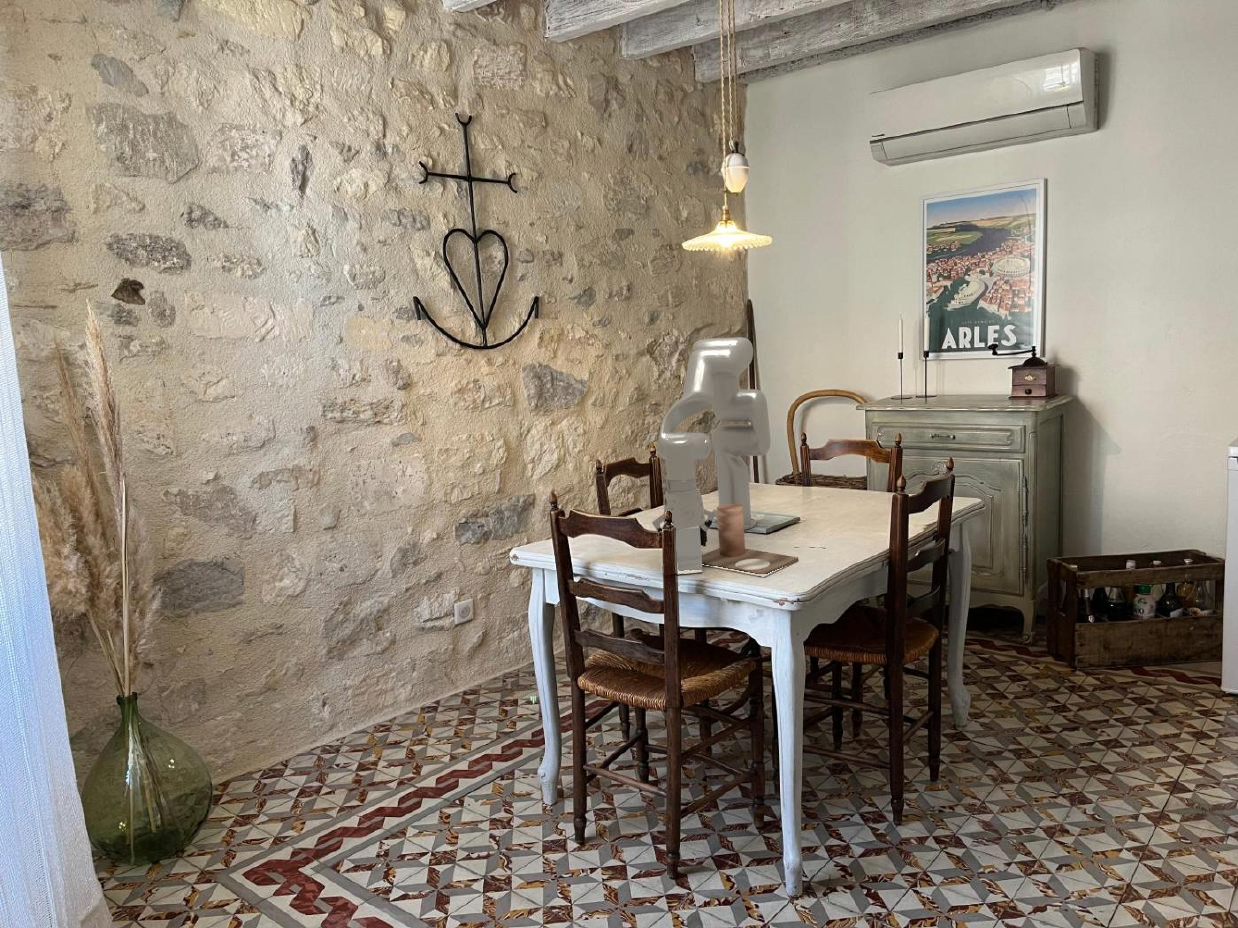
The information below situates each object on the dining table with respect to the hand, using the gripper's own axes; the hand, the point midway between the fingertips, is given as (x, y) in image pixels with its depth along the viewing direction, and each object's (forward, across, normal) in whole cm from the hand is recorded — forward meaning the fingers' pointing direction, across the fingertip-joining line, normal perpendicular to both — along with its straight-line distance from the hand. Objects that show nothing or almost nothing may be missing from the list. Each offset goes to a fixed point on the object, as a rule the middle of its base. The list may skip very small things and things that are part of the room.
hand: (685, 548), depth 249 cm
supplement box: (+6, 0, 0) cm, 7 cm away
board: (+6, +16, -1) cm, 17 cm away
